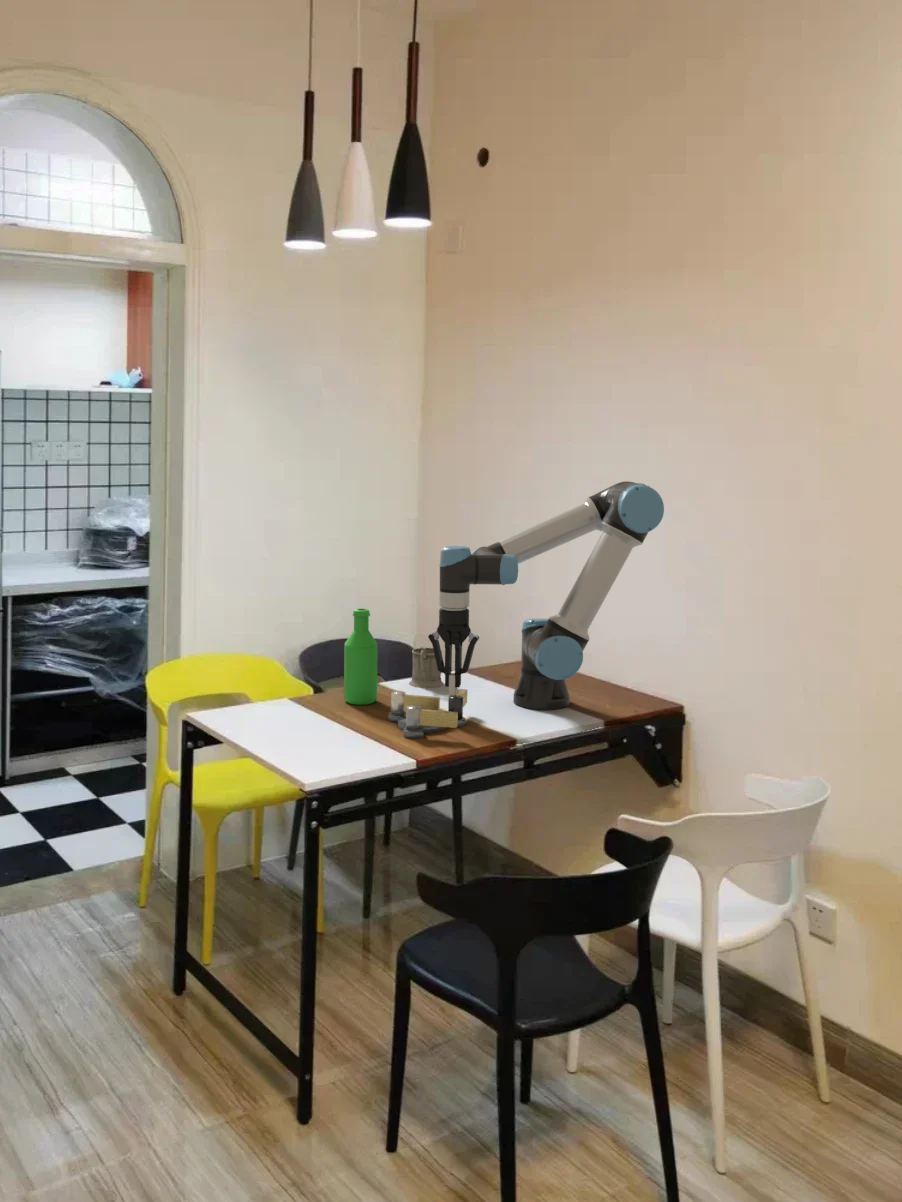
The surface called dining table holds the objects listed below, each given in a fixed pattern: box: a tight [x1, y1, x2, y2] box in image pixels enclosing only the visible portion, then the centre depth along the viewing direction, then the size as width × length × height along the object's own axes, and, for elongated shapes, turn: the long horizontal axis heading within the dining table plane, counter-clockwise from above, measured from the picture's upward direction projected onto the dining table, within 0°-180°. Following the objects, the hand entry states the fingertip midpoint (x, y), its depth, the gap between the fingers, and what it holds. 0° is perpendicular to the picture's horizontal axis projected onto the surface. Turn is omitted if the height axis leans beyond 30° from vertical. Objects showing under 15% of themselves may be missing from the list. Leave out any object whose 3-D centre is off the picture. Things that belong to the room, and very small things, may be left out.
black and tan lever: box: [447, 688, 468, 720], centre depth 285 cm, size 12×4×6 cm, turn 167°
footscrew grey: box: [405, 705, 458, 732], centre depth 270 cm, size 12×4×6 cm, turn 77°
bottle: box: [343, 608, 378, 706], centre depth 300 cm, size 9×9×25 cm
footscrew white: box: [390, 690, 441, 716], centre depth 283 cm, size 12×4×6 cm, turn 77°
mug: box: [408, 646, 445, 689], centre depth 320 cm, size 14×10×12 cm
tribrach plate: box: [387, 711, 466, 740], centre depth 277 cm, size 20×18×2 cm
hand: (452, 699), depth 287 cm, fingers closed
